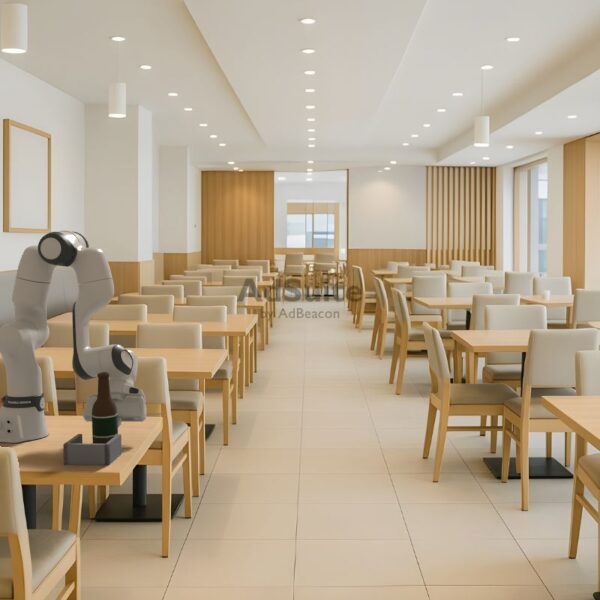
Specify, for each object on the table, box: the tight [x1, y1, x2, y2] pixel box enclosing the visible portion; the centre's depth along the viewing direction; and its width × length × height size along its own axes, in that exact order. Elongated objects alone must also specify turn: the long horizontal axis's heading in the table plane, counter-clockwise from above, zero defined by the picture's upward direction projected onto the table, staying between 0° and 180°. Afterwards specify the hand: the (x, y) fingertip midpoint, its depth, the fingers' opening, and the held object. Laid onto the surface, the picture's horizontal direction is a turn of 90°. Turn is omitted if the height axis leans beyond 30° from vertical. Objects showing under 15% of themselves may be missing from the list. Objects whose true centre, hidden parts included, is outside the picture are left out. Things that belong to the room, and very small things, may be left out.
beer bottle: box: [91, 372, 119, 444], centre depth 247 cm, size 8×8×24 cm
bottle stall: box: [62, 433, 123, 466], centre depth 237 cm, size 13×12×6 cm
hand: (110, 431), depth 252 cm, fingers closed, pressing on beer bottle
